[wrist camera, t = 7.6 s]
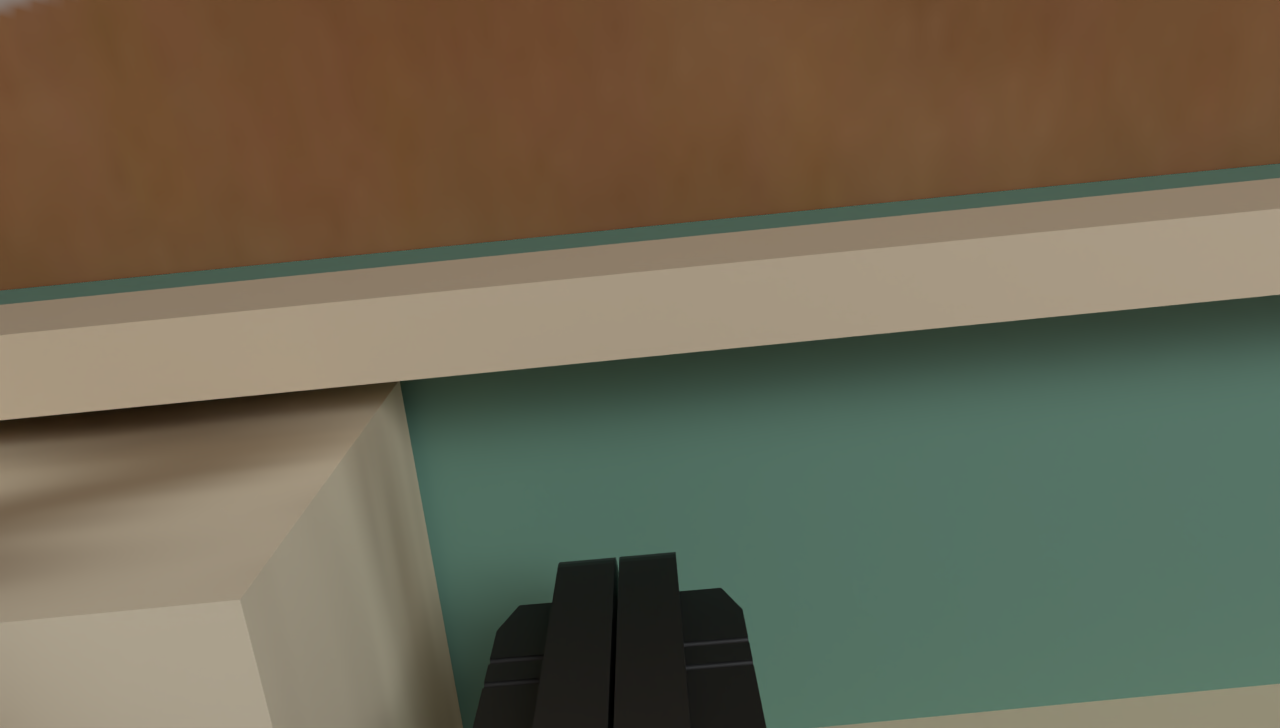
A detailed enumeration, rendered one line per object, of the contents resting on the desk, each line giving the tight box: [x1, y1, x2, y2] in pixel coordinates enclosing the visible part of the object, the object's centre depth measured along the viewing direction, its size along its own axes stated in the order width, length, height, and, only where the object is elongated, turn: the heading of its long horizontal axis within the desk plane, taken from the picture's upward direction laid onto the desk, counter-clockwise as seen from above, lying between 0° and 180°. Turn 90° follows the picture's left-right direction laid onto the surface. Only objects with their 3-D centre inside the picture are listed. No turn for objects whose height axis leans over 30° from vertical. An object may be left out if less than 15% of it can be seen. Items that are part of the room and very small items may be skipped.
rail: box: [0, 164, 1280, 728], centre depth 12 cm, size 24×9×6 cm, turn 96°
